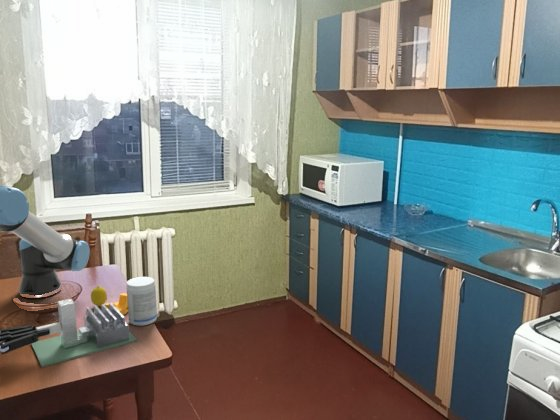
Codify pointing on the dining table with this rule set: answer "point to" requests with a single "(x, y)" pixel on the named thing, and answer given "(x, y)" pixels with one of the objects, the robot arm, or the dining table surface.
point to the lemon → (98, 296)
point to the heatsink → (105, 326)
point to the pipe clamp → (121, 304)
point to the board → (68, 349)
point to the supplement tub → (141, 301)
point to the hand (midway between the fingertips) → (60, 326)
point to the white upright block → (68, 324)
